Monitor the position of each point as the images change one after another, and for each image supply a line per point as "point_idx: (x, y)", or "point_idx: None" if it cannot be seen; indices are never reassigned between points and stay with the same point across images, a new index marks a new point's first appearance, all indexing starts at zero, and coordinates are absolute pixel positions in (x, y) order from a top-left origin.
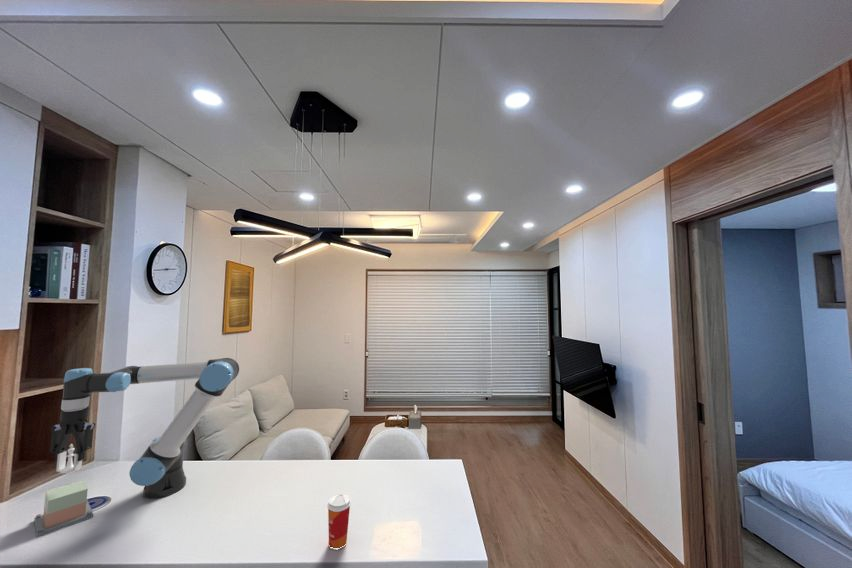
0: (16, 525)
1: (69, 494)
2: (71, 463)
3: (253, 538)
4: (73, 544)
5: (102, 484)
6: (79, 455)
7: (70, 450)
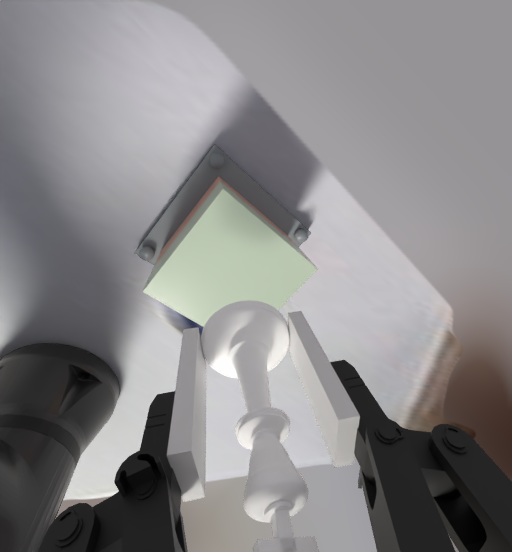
0: (339, 210)
1: (178, 245)
2: (236, 371)
3: None
4: (22, 90)
5: (279, 385)
6: (163, 440)
7: (259, 484)
